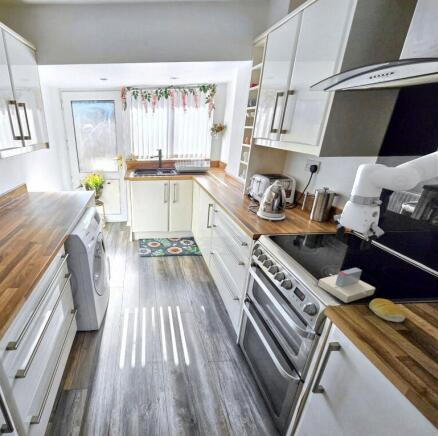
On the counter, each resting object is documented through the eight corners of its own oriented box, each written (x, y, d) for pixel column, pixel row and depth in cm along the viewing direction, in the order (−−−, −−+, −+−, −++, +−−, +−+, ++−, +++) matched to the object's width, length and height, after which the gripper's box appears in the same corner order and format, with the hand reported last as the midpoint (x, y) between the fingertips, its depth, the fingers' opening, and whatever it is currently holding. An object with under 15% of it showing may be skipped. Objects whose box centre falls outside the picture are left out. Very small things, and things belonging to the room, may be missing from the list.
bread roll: (388, 305, 85) (392, 295, 83) (409, 324, 77) (413, 314, 75) (362, 302, 86) (365, 293, 85) (379, 321, 78) (383, 311, 77)
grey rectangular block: (352, 279, 94) (356, 266, 92) (358, 282, 92) (362, 269, 90) (335, 284, 92) (338, 271, 90) (340, 287, 90) (344, 274, 88)
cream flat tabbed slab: (340, 276, 101) (342, 270, 100) (376, 296, 89) (379, 289, 88) (315, 283, 97) (316, 277, 96) (349, 305, 85) (351, 298, 84)
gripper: (401, 206, 77) (384, 252, 83) (348, 192, 93) (338, 233, 99) (382, 208, 75) (366, 255, 81) (332, 194, 91) (322, 235, 97)
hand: (350, 243), depth 90 cm, fingers open, 9 cm apart
